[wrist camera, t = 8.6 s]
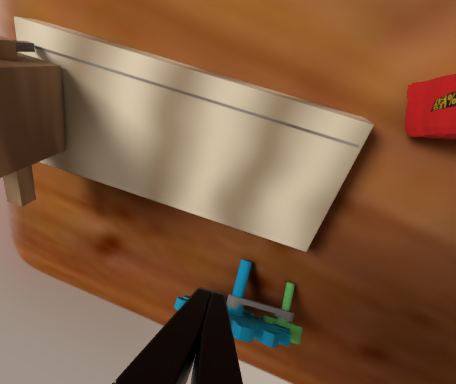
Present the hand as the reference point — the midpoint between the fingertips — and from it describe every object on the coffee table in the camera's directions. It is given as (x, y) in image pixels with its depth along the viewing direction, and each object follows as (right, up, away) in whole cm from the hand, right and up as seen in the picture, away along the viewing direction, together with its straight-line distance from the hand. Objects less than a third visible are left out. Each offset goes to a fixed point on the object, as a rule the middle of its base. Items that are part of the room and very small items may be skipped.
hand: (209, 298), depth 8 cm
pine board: (-3, +7, +12) cm, 14 cm away
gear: (+2, -6, +18) cm, 19 cm away
